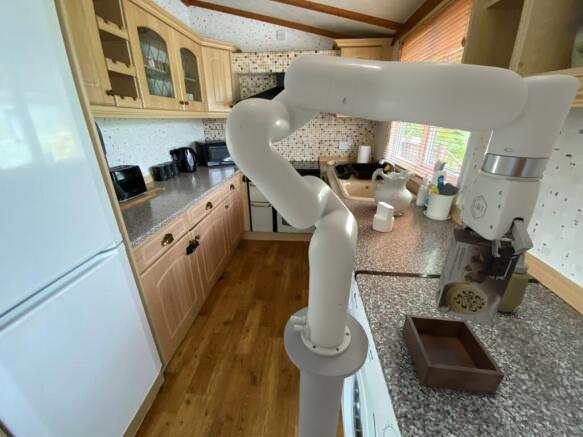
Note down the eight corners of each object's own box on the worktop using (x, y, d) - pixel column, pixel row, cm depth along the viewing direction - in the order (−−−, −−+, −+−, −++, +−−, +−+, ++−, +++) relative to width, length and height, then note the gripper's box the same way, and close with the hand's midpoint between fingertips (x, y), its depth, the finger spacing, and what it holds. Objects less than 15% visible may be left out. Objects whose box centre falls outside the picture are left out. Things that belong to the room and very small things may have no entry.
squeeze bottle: (524, 317, 66) (552, 261, 59) (491, 313, 67) (515, 257, 60) (505, 297, 73) (529, 245, 66) (476, 294, 75) (496, 242, 67)
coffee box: (484, 306, 50) (512, 236, 44) (491, 328, 45) (524, 252, 38) (434, 292, 54) (454, 226, 48) (435, 311, 49) (457, 239, 42)
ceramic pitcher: (375, 220, 130) (384, 175, 118) (362, 205, 147) (369, 164, 136) (413, 219, 132) (426, 175, 120) (396, 204, 149) (406, 164, 137)
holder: (422, 385, 49) (428, 366, 47) (402, 331, 61) (406, 314, 59) (494, 394, 47) (504, 375, 45) (459, 336, 60) (465, 319, 58)
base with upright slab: (395, 231, 115) (400, 207, 111) (379, 232, 113) (383, 208, 109) (384, 223, 123) (388, 201, 119) (368, 225, 121) (372, 202, 117)
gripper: (457, 157, 46) (435, 238, 53) (528, 178, 30) (483, 290, 37) (499, 158, 46) (471, 240, 52) (595, 181, 30) (537, 294, 37)
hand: (477, 261), depth 45 cm, fingers closed on coffee box, 7 cm apart
